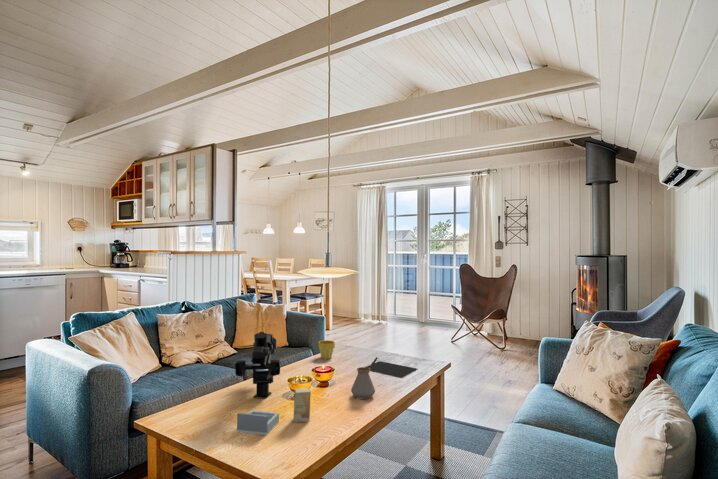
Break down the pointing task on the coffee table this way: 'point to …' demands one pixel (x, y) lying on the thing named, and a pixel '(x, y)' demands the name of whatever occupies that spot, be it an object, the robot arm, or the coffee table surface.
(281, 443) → the coffee table surface
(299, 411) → the skincare box
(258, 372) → the robot arm
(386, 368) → the tablet
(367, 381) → the coffee pot
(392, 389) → the coffee table surface
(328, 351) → the plant pot
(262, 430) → the seat tray
